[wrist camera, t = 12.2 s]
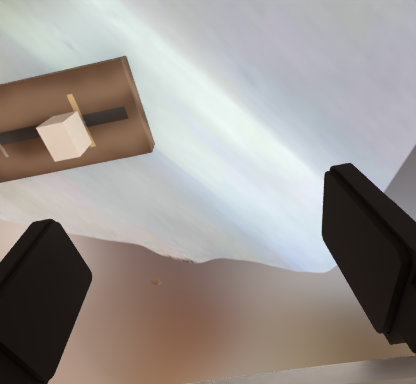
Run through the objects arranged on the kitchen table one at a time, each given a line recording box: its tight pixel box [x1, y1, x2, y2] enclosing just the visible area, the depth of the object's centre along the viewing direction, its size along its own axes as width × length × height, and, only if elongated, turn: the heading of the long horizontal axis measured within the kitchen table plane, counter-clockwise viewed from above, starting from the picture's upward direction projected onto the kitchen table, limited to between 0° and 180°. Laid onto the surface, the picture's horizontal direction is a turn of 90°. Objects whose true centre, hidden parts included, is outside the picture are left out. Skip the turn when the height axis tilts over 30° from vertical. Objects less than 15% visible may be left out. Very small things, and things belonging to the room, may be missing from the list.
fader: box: [36, 111, 92, 162], centre depth 32 cm, size 4×3×7 cm
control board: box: [0, 56, 155, 183], centre depth 36 cm, size 12×24×3 cm, turn 101°
